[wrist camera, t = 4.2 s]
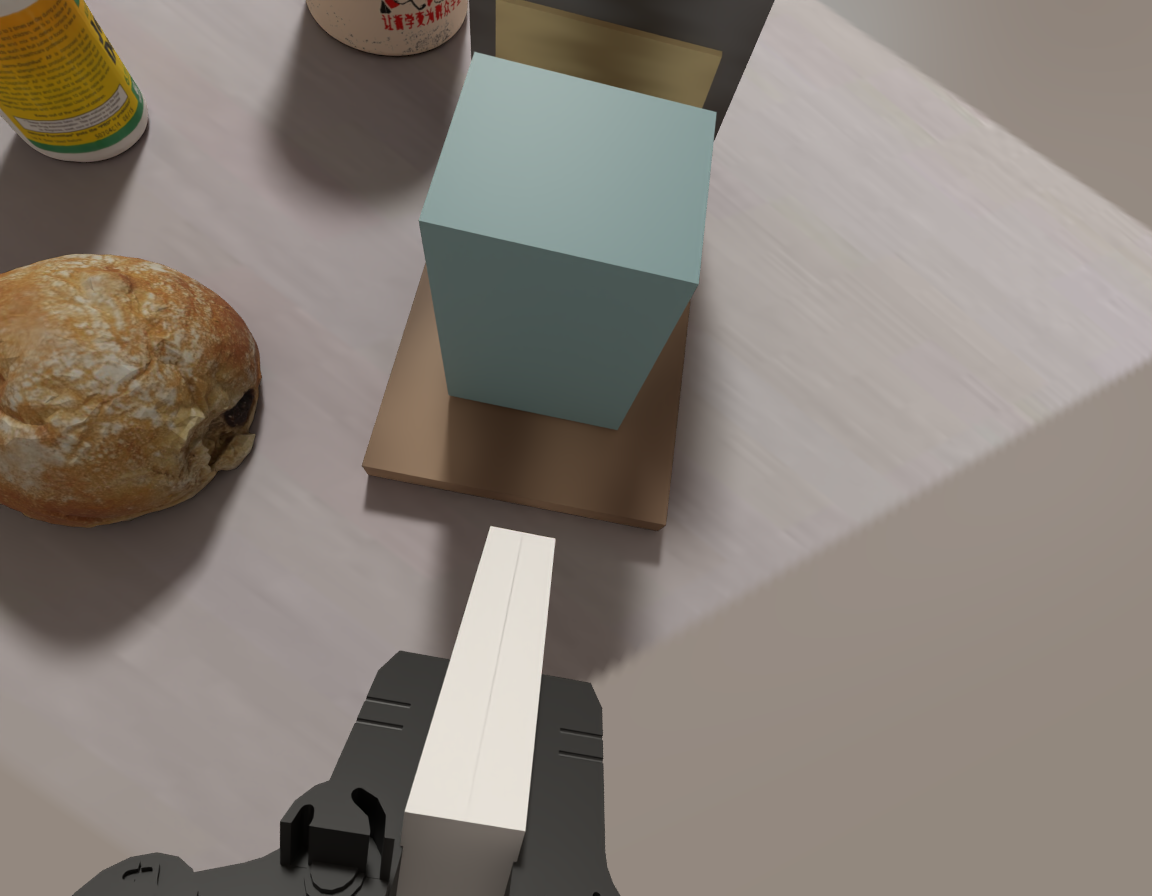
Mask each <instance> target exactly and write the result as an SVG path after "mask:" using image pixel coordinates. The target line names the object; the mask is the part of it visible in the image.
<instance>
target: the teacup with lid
mask: <svg viewBox="0 0 1152 896" xmlns="http://www.w3.org/2000/svg"><path fill="white" fill-rule="evenodd" d="M306 3H307V5H308V8H309V10H310V12H311V14H312V16H313V17H314V19H315V20H316V21H317V23H318V24H319V25H320V26H321V27H322V28H323V29H324V30H325V31H326V32H327V33H328V34H330V35H331V36H332V37H334V38H335V39H337V40H338V41H340V42H342V43H344V44H346V45H348V46H350V47H353V48H355V49H358V50H361V51H365V52H368V53H373V54H379V55H389V56H402V55H411V54H417V53H421V52H425V51H428V50H431V49H433V48H436V47H438V46H440V45H441V44H443V43H445V42H446V41H448V40H449V39H450V38H451V37H452V36H453V35H454V34H455V33H456V32H457V31H458V30H459V28H460V27H461V25H462V23H463V22H464V19H465V16H466V13H467V4H468V0H306Z"/></svg>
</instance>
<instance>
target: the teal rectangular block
mask: <svg viewBox="0 0 1152 896" xmlns="http://www.w3.org/2000/svg"><path fill="white" fill-rule="evenodd" d="M716 113H717V112H714V111H710V110H706V109H702V108H698V107H694V106H690V105H686V104H682V103H678V102H674V101H670V100H666V99H662V98H658V97H654V96H650V95H646V94H642V93H638V92H634V91H630V90H626V89H622V88H618V87H614V86H610V85H606V84H602V83H597V82H593V81H589V80H585V79H581V78H577V77H573V76H569V75H565V74H561V73H557V72H553V71H549V70H545V69H541V68H537V67H533V66H529V65H525V64H521V63H517V62H513V61H509V60H505V59H501V58H497V57H493V56H489V55H485V54H481V53H477V52H474V55H473V58H472V61H471V64H470V67H469V70H468V73H467V76H466V79H465V82H464V85H463V88H462V91H461V94H460V97H459V100H458V103H457V106H456V109H455V112H454V115H453V118H452V122H451V125H450V128H449V131H448V134H447V137H446V140H445V143H444V146H443V149H442V152H441V155H440V158H439V161H438V164H437V167H436V170H435V173H434V176H433V179H432V182H431V185H430V188H429V191H428V194H427V197H426V200H425V203H424V206H423V209H422V212H421V215H420V218H419V225H420V231H421V237H422V243H423V248H424V254H425V260H426V266H427V272H428V278H429V284H430V290H431V295H432V301H433V307H434V313H435V319H436V325H437V331H438V337H439V342H440V348H441V354H442V360H443V366H444V372H445V378H446V383H447V389H448V395H450V396H454V397H459V398H464V399H469V400H474V401H479V402H483V403H488V404H493V405H498V406H503V407H508V408H513V409H517V410H522V411H527V412H532V413H537V414H542V415H547V416H551V417H556V418H561V419H566V420H571V421H576V422H580V423H585V424H590V425H595V426H600V427H605V428H610V429H614V430H618V428H619V427H620V425H621V423H622V421H623V419H624V418H625V416H626V414H627V412H628V410H629V409H630V407H631V405H632V403H633V401H634V400H635V398H636V396H637V394H638V392H639V391H640V389H641V387H642V385H643V383H644V381H645V380H646V378H647V376H648V374H649V372H650V371H651V369H652V367H653V365H654V363H655V362H656V360H657V358H658V356H659V354H660V353H661V351H662V349H663V347H664V345H665V344H666V342H667V340H668V338H669V336H670V335H671V333H672V331H673V329H674V327H675V326H676V324H677V322H678V320H679V318H680V317H681V315H682V313H683V311H684V309H685V308H686V306H687V304H688V302H689V300H690V299H691V297H692V295H693V293H694V291H695V290H696V288H697V286H698V284H699V276H700V266H701V256H702V247H703V237H704V228H705V218H706V209H707V199H708V190H709V180H710V170H711V161H712V151H713V142H714V132H715V123H716Z"/></svg>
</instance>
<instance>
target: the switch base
mask: <svg viewBox="0 0 1152 896" xmlns="http://www.w3.org/2000/svg"><path fill="white" fill-rule="evenodd" d="M773 3H774V0H469V7H470V35H471V61H472V58H473V55H474V52H477V53H481V54H485V55H489V56H493V57H497V58H501V59H505V60H509V61H513V62H517V63H521V64H525V65H529V66H533V67H537V68H541V69H545V70H549V71H553V72H557V73H561V74H565V75H569V76H573V77H577V78H581V79H585V80H589V81H593V82H597V83H602V84H606V85H610V86H614V87H618V88H622V89H626V90H630V91H634V92H638V93H642V94H646V95H650V96H654V97H658V98H662V99H666V100H670V101H674V102H678V103H682V104H686V105H690V106H694V107H698V108H702V109H706V110H710V111H714V112H717V113H716V123H715V132H714V140H715V137H716V135H717V133H718V131H719V128H720V126H721V124H722V121H723V119H724V117H725V114H726V112H727V110H728V107H729V105H730V103H731V100H732V98H733V96H734V93H735V91H736V89H737V86H738V84H739V82H740V79H741V77H742V75H743V72H744V70H745V68H746V65H747V63H748V61H749V59H750V56H751V54H752V52H753V49H754V47H755V45H756V42H757V40H758V38H759V35H760V33H761V31H762V28H763V26H764V24H765V21H766V19H767V17H768V14H769V12H770V10H771V7H772V5H773ZM690 300H691V299H690ZM690 300H689V302H688V304H687V306H686V308H685V309H684V311H683V313H682V315H681V317H680V318H679V320H678V322H677V324H676V326H675V327H674V329H673V331H672V333H671V335H670V336H669V338H668V340H667V342H666V344H665V345H664V347H663V349H662V351H661V353H660V354H659V356H658V358H657V360H656V362H655V363H654V365H653V367H652V369H651V371H650V372H649V374H648V376H647V378H646V380H645V381H644V383H643V385H642V387H641V389H640V391H639V392H638V394H637V396H636V398H635V400H634V401H633V403H632V405H631V407H630V409H629V410H628V412H627V414H626V416H625V418H624V419H623V421H622V423H621V425H620V427H619V428H618V430H614V429H610V428H605V427H600V426H595V425H590V424H585V423H580V422H576V421H571V420H566V419H561V418H556V417H551V416H547V415H542V414H537V413H532V412H527V411H522V410H517V409H513V408H508V407H503V406H498V405H493V404H488V403H483V402H479V401H474V400H469V399H464V398H459V397H454V396H450V395H448V389H447V383H446V378H445V372H444V366H443V360H442V354H441V348H440V342H439V337H438V331H437V325H436V319H435V313H434V307H433V301H432V295H431V290H430V284H429V278H428V272H427V266H426V263H425V266H424V270H423V273H422V276H421V279H420V282H419V286H418V289H417V292H416V295H415V298H414V301H413V305H412V308H411V311H410V314H409V317H408V320H407V324H406V327H405V330H404V333H403V336H402V339H401V343H400V346H399V349H398V352H397V355H396V359H395V362H394V365H393V368H392V371H391V374H390V378H389V381H388V384H387V387H386V390H385V393H384V397H383V400H382V403H381V406H380V409H379V413H378V416H377V419H376V422H375V425H374V428H373V432H372V435H371V438H370V441H369V444H368V447H367V451H366V454H365V457H364V460H363V463H362V467H363V468H364V470H365V471H366V472H367V474H368V475H372V476H377V477H382V478H387V479H392V480H398V481H403V482H408V483H413V484H418V485H423V486H428V487H434V488H439V489H444V490H449V491H454V492H459V493H464V494H470V495H475V496H480V497H485V498H490V499H495V500H500V501H505V502H511V503H516V504H521V505H526V506H531V507H536V508H541V509H547V510H552V511H557V512H562V513H567V514H572V515H577V516H583V517H588V518H593V519H598V520H603V521H608V522H613V523H619V524H624V525H629V526H634V527H639V528H644V529H649V530H655V531H659V530H660V529H661V528H663V527H664V526H665V525H666V519H667V510H668V501H669V492H670V483H671V474H672V464H673V455H674V446H675V437H676V428H677V419H678V410H679V400H680V391H681V382H682V373H683V364H684V355H685V346H686V336H687V327H688V318H689V309H690Z"/></svg>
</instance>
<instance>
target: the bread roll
mask: <svg viewBox="0 0 1152 896" xmlns="http://www.w3.org/2000/svg"><path fill="white" fill-rule="evenodd" d="M261 378H262V376H261V372H260V356H259V350H258V346H257V344H256V342H255V340H254V338H253V336H252V334H251V332H250V331H249V329H248V327H247V325H246V324H245V322H244V321H243V319H242V318H241V317H240V316H239V315H238V314H237V312H236V311H235V310H234V309H233V308H232V307H231V306H230V305H229V304H228V303H227V302H226V301H225V300H223V299H222V298H221V297H220V296H219V295H217V294H216V293H215V292H213V291H212V290H210V289H208V288H207V287H205V286H203V285H202V284H200V283H199V282H198V281H196V280H194V279H192V278H190V277H188V276H186V275H184V274H182V273H180V272H179V271H177V270H174V269H172V268H170V267H167V266H165V265H162V264H158V263H154V262H150V261H146V260H143V259H139V258H130V257H123V256H115V255H95V254H70V255H63V256H59V257H55V258H51V259H47V260H42V261H38V262H35V263H33V264H31V265H28V266H24V267H20V268H16V269H14V270H11V271H8V272H6V273H2V274H0V504H2V505H5V506H7V507H9V508H12V509H14V510H17V511H20V512H22V513H23V514H24V515H25V516H27V517H29V518H31V519H33V518H34V519H37V520H41V521H45V522H49V523H51V524H59V525H66V526H72V527H85V528H92V527H95V526H97V525H105V524H111V523H117V522H120V521H131V520H133V519H134V518H136V517H139V516H142V515H145V514H147V513H150V512H155V511H159V510H163V509H166V508H169V507H172V506H174V505H177V504H179V503H181V502H183V501H186V500H188V499H190V498H192V497H193V496H194V495H196V494H197V493H198V492H199V491H201V490H202V489H203V488H204V487H205V486H206V485H207V484H208V483H209V482H210V481H212V479H213V478H214V476H215V475H216V473H217V471H220V470H231V469H236V468H237V467H238V466H239V465H240V463H241V462H242V461H243V460H244V458H245V457H246V456H247V455H248V454H249V453H250V451H251V449H252V445H253V442H254V438H255V435H256V434H252V433H249V427H250V425H251V423H252V421H253V418H254V414H255V410H256V405H257V401H258V396H259V391H258V386H259V384H260V381H261Z"/></svg>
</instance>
